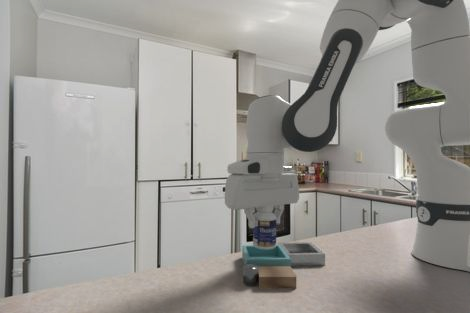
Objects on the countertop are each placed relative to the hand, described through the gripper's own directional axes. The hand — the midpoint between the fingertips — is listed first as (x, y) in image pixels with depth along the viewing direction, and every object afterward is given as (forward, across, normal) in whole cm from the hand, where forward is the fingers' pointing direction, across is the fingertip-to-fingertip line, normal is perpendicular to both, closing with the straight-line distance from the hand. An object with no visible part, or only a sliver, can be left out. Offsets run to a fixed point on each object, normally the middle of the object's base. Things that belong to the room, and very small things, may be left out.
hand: (264, 225), depth 59 cm
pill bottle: (+5, 0, 0) cm, 5 cm away
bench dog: (+9, +8, +5) cm, 13 cm away
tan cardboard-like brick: (+10, +4, +8) cm, 13 cm away
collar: (+9, -10, +2) cm, 14 cm away
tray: (+9, 0, 0) cm, 9 cm away
